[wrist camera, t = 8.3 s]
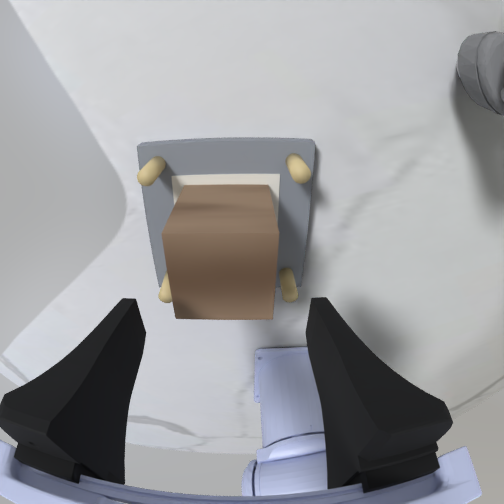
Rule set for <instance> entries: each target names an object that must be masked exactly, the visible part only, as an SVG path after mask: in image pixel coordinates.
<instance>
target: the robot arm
mask: <svg viewBox="0 0 504 504" xmlns="http://www.w3.org/2000/svg"><path fill="white" fill-rule="evenodd" d="M145 337H146V331H145V328H144V325H143V321H142V318H141V315H140V311H139V308H138V305H137V301H136V299H128V298H123V299H122V300H121V301H120V302H119V303H118V304H117V305H116V306H115V307H114V308H113V309H112V310H111V311H110V313H109V314H108V315H107V316H106V317H105V318H104V319H103V320H102V321H101V322H100V324H99V325H98V326H97V327H96V328H95V329H94V330H93V331H92V332H91V333H90V334H89V335H88V336H87V337H86V338H85V339H84V340H83V341H82V342H81V343H80V344H79V345H78V346H77V347H76V348H75V349H74V350H73V351H71V352H70V353H69V354H68V355H67V356H66V357H64V358H63V359H62V360H61V361H60V362H58V363H57V364H55V365H54V366H53V367H51V368H50V369H49V370H47V371H46V372H44V373H43V374H42V375H40V376H38V377H37V378H35V379H34V380H32V381H30V382H28V383H27V384H25V385H23V386H21V387H19V388H17V389H15V390H13V391H11V392H9V393H6V394H5V395H4V397H3V399H2V401H1V404H0V427H1V428H2V429H3V430H4V431H5V432H6V433H7V434H8V435H9V436H11V437H12V438H13V439H14V440H15V441H17V442H18V445H17V448H15V447H14V446H12V445H10V444H8V443H6V442H4V441H2V440H0V495H1V496H3V497H5V498H7V499H9V500H10V501H12V502H14V503H16V504H124V503H128V504H467V503H468V502H470V501H472V500H474V499H476V498H478V497H480V496H481V495H482V492H481V488H480V485H479V482H478V479H477V476H476V473H475V469H474V467H473V463H472V461H471V458H470V455H469V452H468V449H467V447H466V446H463V447H461V448H458V449H456V450H453V451H451V452H448V453H446V454H444V455H442V456H440V457H438V458H437V456H436V453H435V452H436V451H438V446H437V443H436V441H438V440H439V439H440V438H441V437H442V436H443V435H444V434H445V433H446V432H447V431H448V430H449V429H450V428H451V426H452V424H453V421H452V418H451V416H450V413H449V410H448V408H447V406H446V404H445V402H444V401H442V400H440V399H438V398H436V397H434V396H432V395H430V394H428V393H426V392H425V391H423V390H421V389H420V388H418V387H416V386H415V385H413V384H411V383H410V382H408V381H407V380H406V379H404V378H403V377H401V376H400V375H399V374H397V373H396V372H395V371H393V370H392V369H391V368H390V367H388V366H387V365H386V364H385V363H384V362H383V361H381V360H380V359H379V358H378V357H377V356H376V355H375V354H374V353H373V352H372V351H371V350H370V349H369V348H368V347H367V346H366V345H365V344H364V343H363V342H362V341H361V340H360V339H359V337H358V336H357V335H356V334H355V333H354V332H353V330H352V329H351V328H350V327H349V326H348V325H347V323H346V322H345V321H344V320H343V318H342V317H341V316H340V314H339V313H338V312H337V311H336V309H335V308H334V307H333V305H332V304H331V303H330V301H329V300H328V299H327V298H326V297H321V298H311V304H310V310H309V316H308V322H307V328H306V340H307V347H295V348H269V349H258V350H256V351H255V376H254V402H256V403H260V407H261V425H262V443H263V448H262V449H257V460H252V461H250V463H249V464H248V466H247V467H246V469H245V470H244V473H243V477H242V496H208V495H193V494H182V493H172V492H164V491H156V490H149V489H143V488H137V487H132V486H127V485H124V484H125V467H124V457H125V437H126V426H127V417H128V410H129V403H130V399H131V394H132V391H133V387H134V383H135V380H136V376H137V373H138V369H139V366H140V362H141V359H142V355H143V350H144V344H145ZM113 500H114V501H113ZM117 501H118V502H117ZM120 502H123V503H120Z"/></svg>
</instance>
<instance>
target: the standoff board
mask: <svg viewBox="0 0 504 504" xmlns="http://www.w3.org/2000/svg"><path fill="white" fill-rule="evenodd" d="M137 152H138V161H139V169H140V171H139V172H138V175H137V179H138V182H139V183H140V184H141V185H142V193H143V200H144V206H145V213H146V219H147V225H148V231H149V237H150V243H151V248H152V254H153V259H154V264H155V269H156V274H157V279H158V284H159V287H161V289H160V292H159V295H158V296H159V299H160V300H161V301H162V302H164V303H170V302H172V296H171V291H170V285H169V279H168V273H167V267H166V261H165V255H164V248H163V241H162V234H161V233H162V231H163V229H164V227H165V225H166V222H167V220H168V218H169V216H170V214H171V212H172V209H173V207H174V205H175V203H176V201H177V199H178V197H179V195H180V193H181V191H182V189H183V187H184V185H215V184H261V185H269V190H270V194H271V198H272V203H273V207H274V212H275V216H276V220H277V225H278V230H279V245H278V259H277V272H276V284H275V287H281V290H282V296H283V300H284V301H286V302H294V301H295V300H297V298H298V292H297V288H296V287H299V286H301V283H302V275H303V267H304V258H305V250H306V241H307V231H308V222H309V212H310V202H311V191H312V179H313V167H314V154H315V142H314V141H313V140H312V139H295V138H205V139H184V140H169V141H156V142H144V143H141V144H140V145H138V146H137Z"/></svg>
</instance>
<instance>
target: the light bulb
mask: <svg viewBox="0 0 504 504" xmlns="http://www.w3.org/2000/svg"><path fill="white" fill-rule="evenodd" d="M456 66H457V72H458V75H459V77H460V79H461V81H462V84H463V86H464V88H465V90H466V92H467V93H468V95H469V96H470V98H471V99H472V100H473V101H475V102H476V103H477V104H478V105H480V106H482V107H485V108H487V109H489V110H491V111H493V112H495V113H497V114H500V115H504V33H501V32H496V31H495V32H487V33H480V34H473V35H471V36H468V37H467V38H466V39H465V40H464V42H463V43H462V44H461V47H460V50H459V53H458V58H457V63H456Z"/></svg>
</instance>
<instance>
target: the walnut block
mask: <svg viewBox="0 0 504 504" xmlns="http://www.w3.org/2000/svg"><path fill="white" fill-rule="evenodd" d="M161 234H162V241H163V248H164V255H165V261H166V267H167V273H168V279H169V285H170V291H171V296H172V302H173V307H174V312H175V317H176V319H213V320H261V319H273V308H274V296H275V284H276V272H277V259H278V245H279V230H278V225H277V220H276V216H275V212H274V207H273V203H272V198H271V194H270V190H269V185H261V184H215V185H184V187H183V189H182V191H181V193H180V195H179V197H178V199H177V201H176V203H175V205H174V207H173V209H172V212H171V214H170V216H169V218H168V220H167V222H166V225H165V227H164V229H163V231H162V233H161Z"/></svg>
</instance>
